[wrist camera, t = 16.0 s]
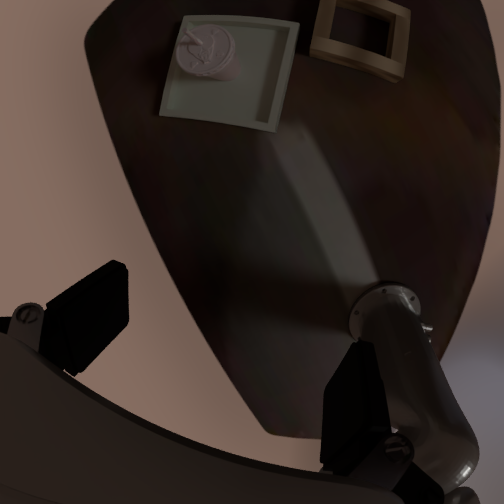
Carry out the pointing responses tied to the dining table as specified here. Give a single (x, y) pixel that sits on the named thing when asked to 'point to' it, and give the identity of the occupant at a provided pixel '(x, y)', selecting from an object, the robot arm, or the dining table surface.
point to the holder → (388, 67)
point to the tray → (248, 81)
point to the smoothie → (208, 52)
